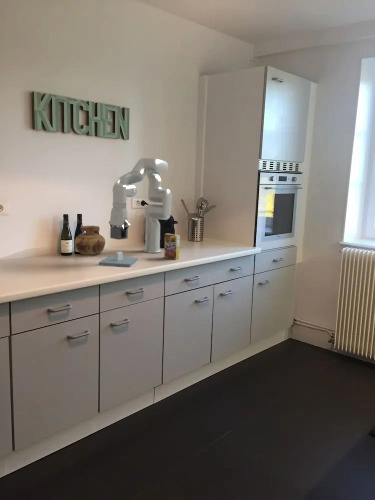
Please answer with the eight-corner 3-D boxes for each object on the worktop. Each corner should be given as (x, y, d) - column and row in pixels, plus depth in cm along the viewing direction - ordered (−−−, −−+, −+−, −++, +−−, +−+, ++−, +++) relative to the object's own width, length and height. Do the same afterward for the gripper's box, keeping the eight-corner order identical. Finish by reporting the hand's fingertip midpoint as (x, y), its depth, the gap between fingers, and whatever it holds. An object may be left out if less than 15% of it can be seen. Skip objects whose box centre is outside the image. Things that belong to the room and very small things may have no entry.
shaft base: (109, 258, 268) (109, 248, 267) (137, 260, 266) (138, 250, 265) (98, 265, 248) (98, 254, 247) (130, 266, 246) (130, 256, 245)
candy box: (163, 258, 275) (164, 233, 272) (167, 256, 279) (168, 233, 276) (175, 259, 271) (176, 235, 268) (179, 258, 274) (180, 234, 272)
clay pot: (101, 253, 266) (89, 222, 264) (75, 262, 271) (63, 232, 269) (113, 248, 285) (102, 219, 282) (88, 256, 289) (77, 228, 287)
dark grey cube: (110, 238, 253) (110, 226, 252) (119, 237, 259) (119, 226, 258) (118, 239, 249) (119, 228, 248) (127, 238, 255) (127, 227, 254)
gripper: (104, 205, 253) (103, 235, 256) (125, 207, 243) (125, 239, 246) (113, 204, 259) (113, 234, 262) (135, 207, 249) (134, 238, 252)
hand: (119, 236), depth 254 cm, fingers closed on dark grey cube, 7 cm apart
